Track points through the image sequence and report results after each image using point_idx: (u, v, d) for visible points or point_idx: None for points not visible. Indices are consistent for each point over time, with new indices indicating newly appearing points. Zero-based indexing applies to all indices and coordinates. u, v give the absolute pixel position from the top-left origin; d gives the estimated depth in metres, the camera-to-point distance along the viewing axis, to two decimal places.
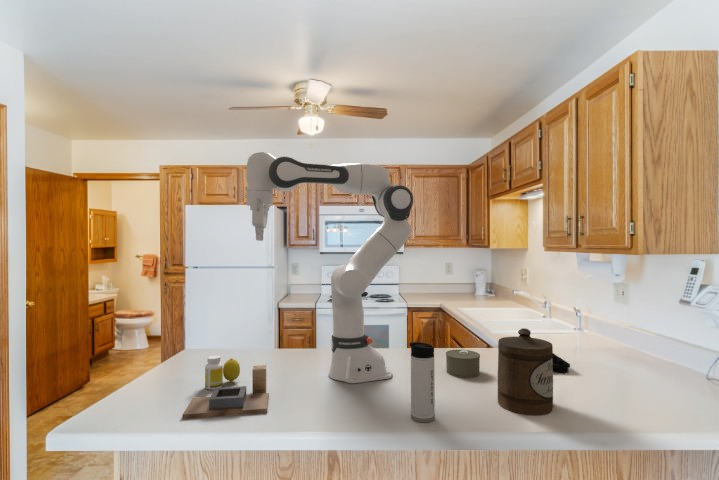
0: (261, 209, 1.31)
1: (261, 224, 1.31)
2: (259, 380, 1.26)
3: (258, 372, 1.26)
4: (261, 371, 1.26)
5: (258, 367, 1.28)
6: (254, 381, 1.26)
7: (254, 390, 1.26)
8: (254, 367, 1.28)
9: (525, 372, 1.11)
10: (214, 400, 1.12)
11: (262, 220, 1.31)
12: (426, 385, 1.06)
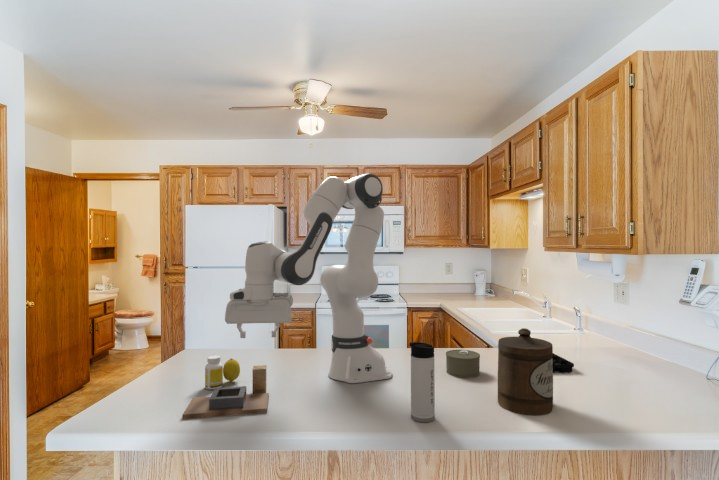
0: None
1: None
2: (259, 380, 1.26)
3: (258, 372, 1.26)
4: (261, 371, 1.26)
5: (258, 367, 1.28)
6: (254, 381, 1.26)
7: (254, 390, 1.26)
8: (254, 367, 1.28)
9: (525, 372, 1.11)
10: (214, 400, 1.12)
11: None
12: (426, 385, 1.06)
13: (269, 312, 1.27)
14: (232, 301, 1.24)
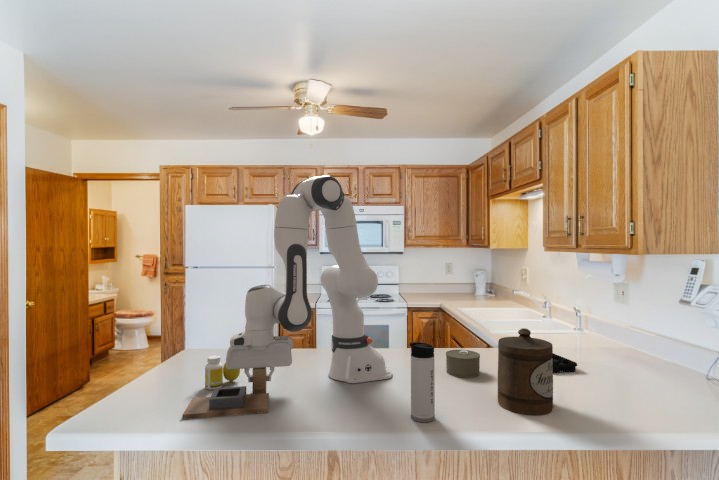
0: None
1: None
2: (259, 380, 1.26)
3: (258, 372, 1.26)
4: (261, 371, 1.26)
5: None
6: (254, 381, 1.26)
7: (254, 390, 1.26)
8: None
9: (525, 372, 1.11)
10: (214, 400, 1.12)
11: None
12: (426, 385, 1.06)
13: (270, 356, 1.27)
14: (232, 347, 1.24)
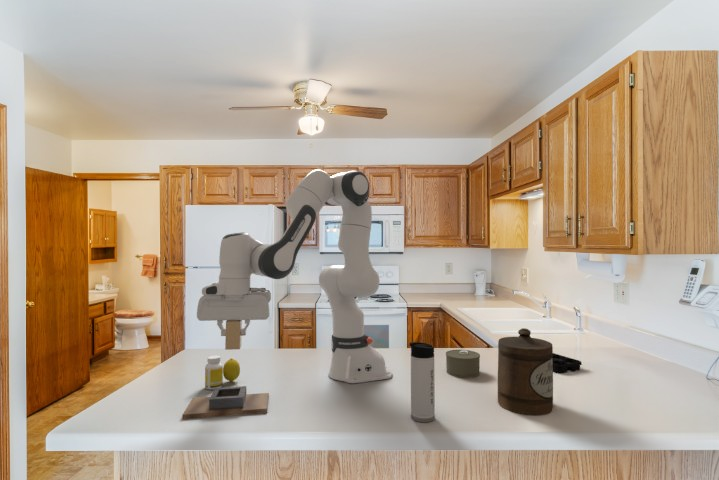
0: None
1: None
2: (233, 333, 1.17)
3: (232, 325, 1.17)
4: (235, 324, 1.17)
5: (232, 320, 1.19)
6: (227, 334, 1.17)
7: (227, 344, 1.17)
8: (228, 320, 1.19)
9: (525, 372, 1.11)
10: (214, 400, 1.12)
11: None
12: (426, 385, 1.06)
13: (245, 308, 1.18)
14: (204, 296, 1.16)
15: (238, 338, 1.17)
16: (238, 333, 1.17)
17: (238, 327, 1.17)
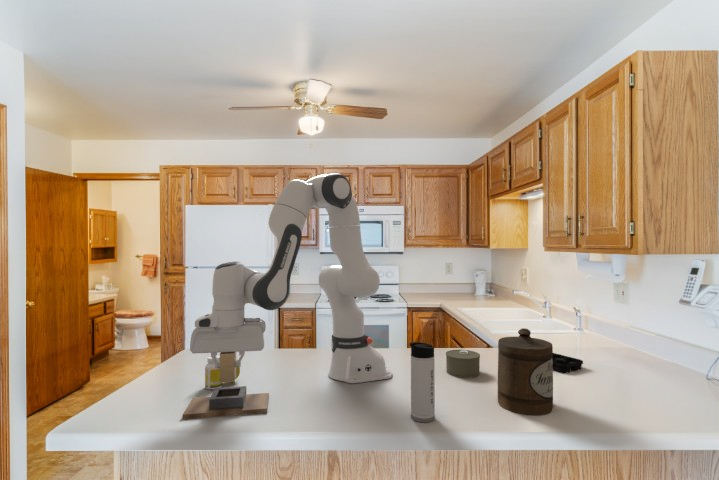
0: None
1: None
2: (227, 366, 1.15)
3: (226, 357, 1.15)
4: (229, 356, 1.15)
5: None
6: (221, 366, 1.14)
7: (221, 376, 1.14)
8: None
9: (525, 372, 1.11)
10: (214, 400, 1.12)
11: None
12: (426, 385, 1.06)
13: (239, 339, 1.16)
14: (197, 329, 1.13)
15: (232, 370, 1.15)
16: (232, 365, 1.15)
17: (232, 359, 1.15)
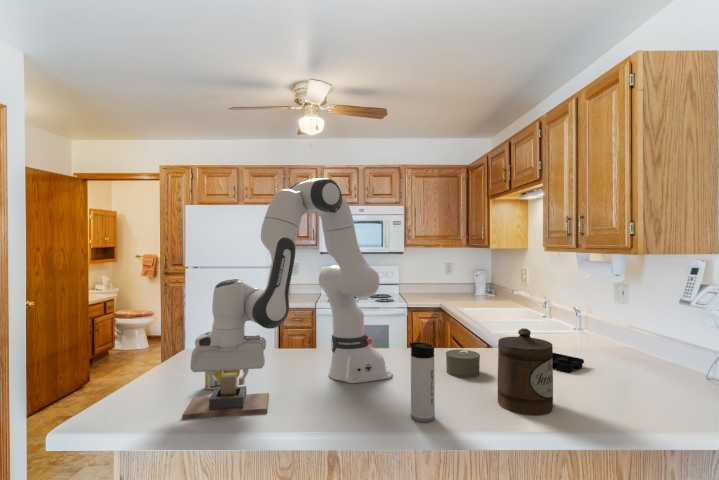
0: None
1: None
2: (228, 389, 1.15)
3: (226, 380, 1.15)
4: (230, 379, 1.15)
5: (227, 375, 1.17)
6: (222, 390, 1.15)
7: None
8: (223, 375, 1.17)
9: (525, 372, 1.11)
10: (214, 400, 1.12)
11: None
12: (426, 385, 1.06)
13: (239, 358, 1.16)
14: (198, 348, 1.13)
15: (233, 394, 1.15)
16: (233, 389, 1.15)
17: (233, 383, 1.15)
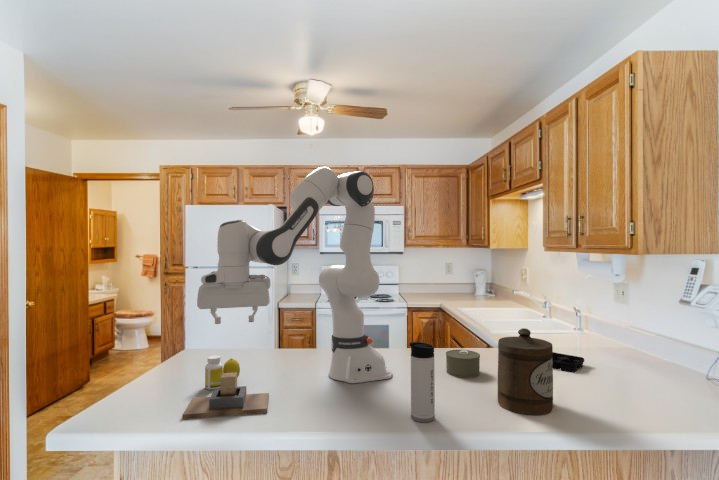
0: None
1: None
2: (228, 389, 1.15)
3: (226, 380, 1.15)
4: (230, 379, 1.15)
5: (227, 375, 1.17)
6: (222, 390, 1.15)
7: None
8: (223, 375, 1.17)
9: (525, 372, 1.11)
10: (214, 400, 1.12)
11: None
12: (426, 385, 1.06)
13: (245, 295, 1.18)
14: (204, 285, 1.16)
15: (233, 394, 1.15)
16: (233, 389, 1.15)
17: (233, 383, 1.15)
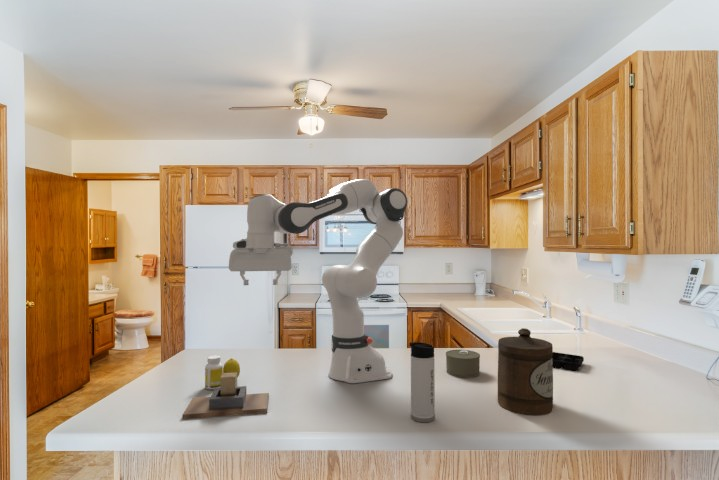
0: None
1: None
2: (228, 389, 1.15)
3: (226, 380, 1.15)
4: (230, 379, 1.15)
5: (227, 375, 1.17)
6: (222, 390, 1.15)
7: None
8: (223, 375, 1.17)
9: (525, 372, 1.11)
10: (214, 400, 1.12)
11: None
12: (426, 385, 1.06)
13: (270, 260, 1.34)
14: (235, 250, 1.31)
15: (233, 394, 1.15)
16: (233, 389, 1.15)
17: (233, 383, 1.15)
